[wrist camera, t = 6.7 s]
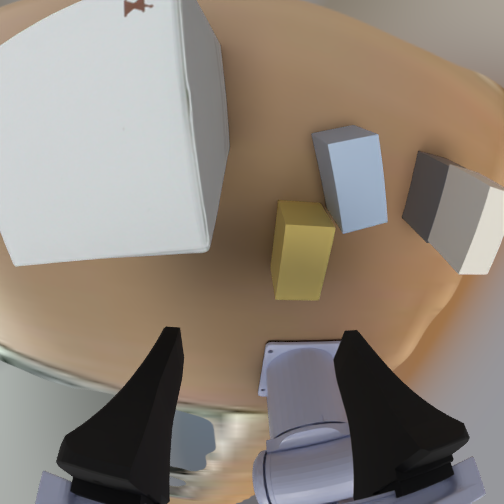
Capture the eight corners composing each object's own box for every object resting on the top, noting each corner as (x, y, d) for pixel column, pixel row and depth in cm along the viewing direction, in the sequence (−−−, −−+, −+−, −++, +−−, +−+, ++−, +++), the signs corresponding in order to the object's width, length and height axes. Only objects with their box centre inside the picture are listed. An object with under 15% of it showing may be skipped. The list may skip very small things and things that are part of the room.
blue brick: (364, 198, 20) (387, 222, 17) (326, 207, 21) (343, 233, 17) (353, 124, 17) (378, 134, 14) (310, 133, 18) (327, 144, 14)
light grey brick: (456, 243, 18) (487, 274, 14) (427, 240, 18) (458, 274, 14) (478, 172, 15) (517, 195, 11) (449, 163, 15) (490, 186, 11)
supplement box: (110, 64, 15) (-38, 64, 4) (223, 42, 14) (188, -40, 4) (124, 166, 18) (9, 271, 7) (231, 152, 18) (216, 258, 7)
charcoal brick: (429, 221, 21) (455, 245, 18) (401, 217, 21) (426, 242, 18) (446, 158, 18) (478, 174, 15) (417, 150, 18) (449, 166, 15)
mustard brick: (308, 267, 23) (318, 300, 20) (270, 266, 23) (275, 299, 20) (320, 202, 20) (335, 227, 17) (278, 199, 20) (285, 224, 17)
